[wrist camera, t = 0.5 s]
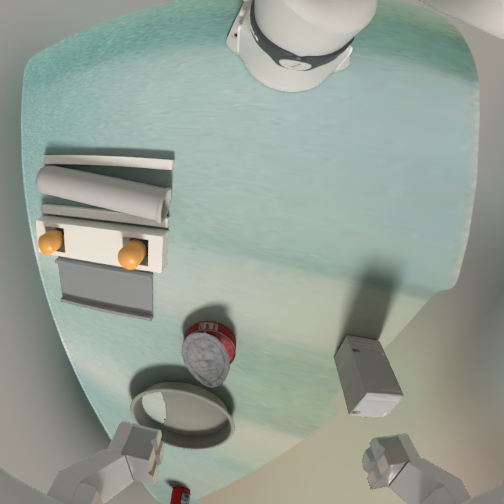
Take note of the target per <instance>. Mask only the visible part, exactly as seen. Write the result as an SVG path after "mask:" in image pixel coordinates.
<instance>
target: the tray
mask: <svg viewBox="0 0 504 504" xmlns="http://www.w3.org/2000/svg"><path fill="white" fill-rule="evenodd" d="M55 263H58V266H59V274H60V282H61V289H62V295H63V297H62V298H61V302H65V303H69V304H73V305H77V306H81V307H85V308H90V309H94V310H98V311H103V312H108V313H112V314H117V315H122V316H127V317H132V318H137V319H143V320H148V321H151V320H152V318H153V273H149V272H143V271H136V270H128V269H124V268H118V267H112V266H106V265H100V264H94V263H89V262H83V261H77V260H72V259H66V258H61V257H58V258H57V259H56V260H55Z"/></svg>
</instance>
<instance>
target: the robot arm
mask: <svg viewBox="0 0 504 504" xmlns="http://www.w3.org/2000/svg"><path fill="white" fill-rule="evenodd" d="M243 1H244V3H243V5H242V7H241V9H240V11H239V13H238V15H237V17H236V20H235V22H234V24H233V26H232V28H231V30H230V33H229V35H228V37H227V41H226V44H227V46H228V47H229V48H230V49H231V50H232V51H234V52H235V53H236V54H238V55H239V56H240V57H241V59H242V60H243V62H244V64H245V66H246V68H247V69H248V71H249V72H250V73H251V74H252V75H253V76H254V77H255V78H256V79H257V80H258V81H260V82H261V83H263V84H265V85H267V86H269V87H271V88H274V89H277V90H281V91H287V92H298V91H304V90H308V89H311V88H313V87H315V86H317V85H319V84H320V83H322V82H323V81H324V80H325V79H326V78H327V77H328V76H329V75H331V74H332V73H334V72H337V71H340V70H343V69H345V68H347V67H348V65H349V63H350V58H349V55H350V53H351V52H352V47H351V43H352V41H353V40H354V38H355V35H357V34H358V33H359V32H360V31H361V30H362V29H363V28H364V27H365V26H367V25H368V24H369V23H370V21H371V20H372V18H373V17H374V15H375V12H376V9H377V4H378V0H243ZM419 1H421V2H423V3H425V4H427V5H428V6H430V7H432V8H434V9H436V10H437V11H439V12H441V13H444V14H446V15H449V16H451V17H453V18H455V19H458V20H460V21H462V22H464V23H467V24H469V25H471V26H473V27H475V28H478V29H480V30H482V31H484V32H486V33H488V34H490V35H492V36H494V37H497V38H500V39H504V0H419ZM235 34H237V37H236V36H234V35H235ZM161 437H162V433H161V430H157V429H153V428H149V427H145V426H141V425H137V424H133V423H129V422H126V421H122V422H121V423H120V424H119V426H118V428H117V431H116V433H115V435H114V437H113V439H112V441H111V443H110V445H109V448H108V450H106V449H103V450H101V451H99V452H97V453H95V454H93V455H92V456H90V457H88V458H86V459H84V460H82V461H80V462H78V463H76V464H74V465H72V466H70V467H68V468H66V469H64V470H61V471H59V473H58V475H57V477H56V479H55V480H54V482H53V484H52V486H51V488H50V490H49V492H48V493H47V495H46V494H44V493H42V492H40V491H39V490H37V489H35V488H33V487H31V486H29V485H28V484H26V483H24V482H23V481H21V480H19V479H17V478H16V477H14V476H12V475H11V474H9V473H8V472H6V471H5V470H3V469H2V468H0V504H105V502H106V501H108V500H109V499H111V498H112V497H113V496H115V495H116V494H117V493H119V492H120V491H121V490H123V489H124V488H125V487H127V486H128V485H129V484H131V483H132V482H133V480H135V481H139V482H144V483H148V484H153V485H155V483H156V480H157V476H158V467H157V466H158V465H160V464H161V462H162V458H163V442H162V441H161ZM362 464H363V468H364V470H365V471H366V472H367V473H369V474H368V476H367V480H368V483H369V486H370V489H376V488H382V487H387V486H389V488H390V489H391V490H392V491H393V492H394V493H396V494H397V495H398V496H399V497H400V498H402V499H403V500H404V501H405V502H406V503H407V504H504V481H502V482H501V483H499V484H497V485H496V486H494V487H492V488H490V489H488V490H487V491H485V492H483V493H481V494H479V495H477V496H475V497H473V498H471V497H470V495H469V493H468V491H467V489H466V488H465V486H464V484H463V482H462V481H461V479H459V478H457V477H455V476H454V475H452V474H450V473H448V472H447V471H444V470H443V469H441V468H439V467H438V466H436V465H434V464H433V463H431V462H429V461H427V460H426V459H424V458H423V459H421V458H420V456H419V455H418V453H417V451H416V449H415V447H414V445H413V443H412V441H411V440H410V438H409V436H408V434H406V433H404V434H398V435H391V436H384V437H378V438H374V439H372V440H371V442H370V448H368V449H367V450H366V451H365V453H364V454H363V459H362Z"/></svg>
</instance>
